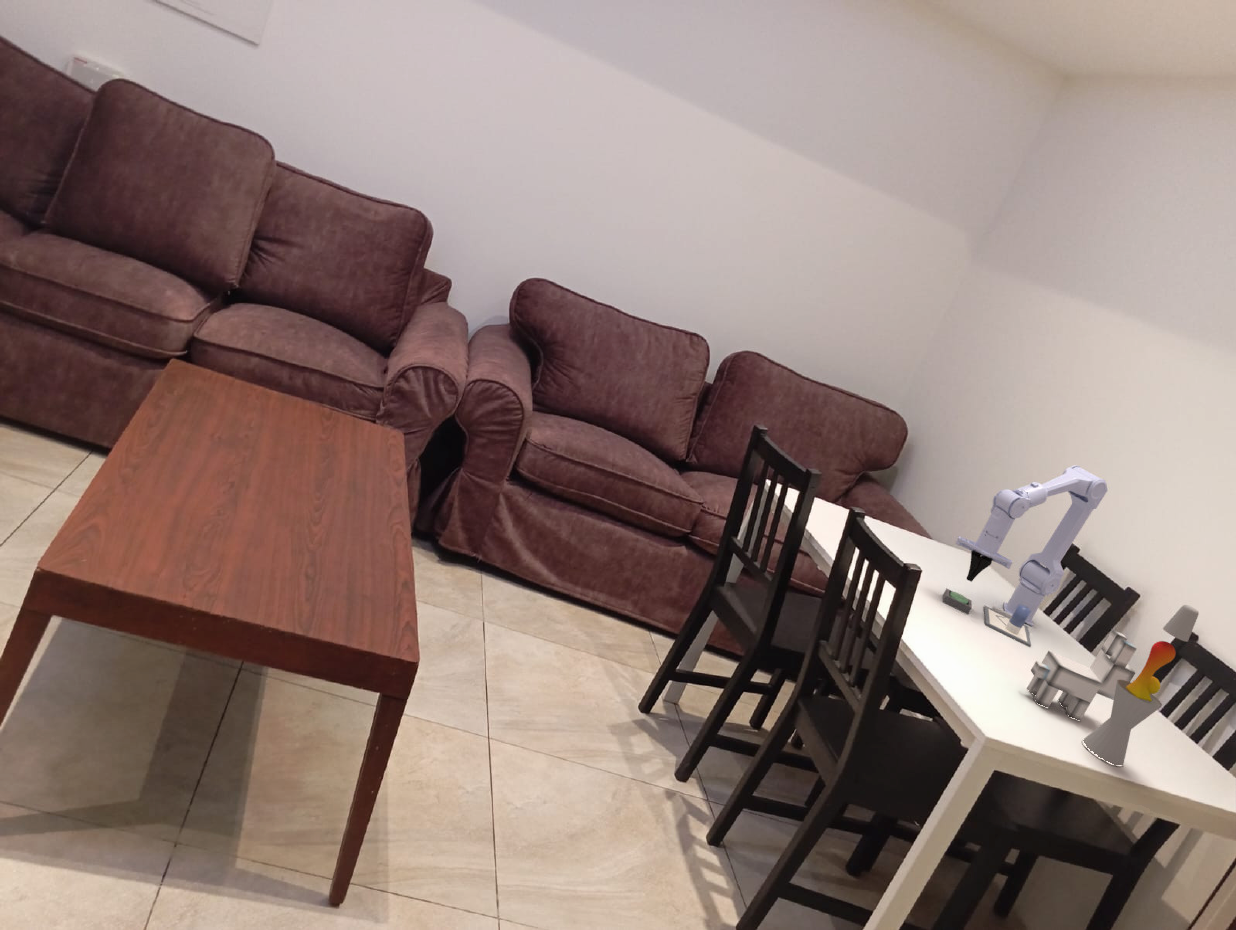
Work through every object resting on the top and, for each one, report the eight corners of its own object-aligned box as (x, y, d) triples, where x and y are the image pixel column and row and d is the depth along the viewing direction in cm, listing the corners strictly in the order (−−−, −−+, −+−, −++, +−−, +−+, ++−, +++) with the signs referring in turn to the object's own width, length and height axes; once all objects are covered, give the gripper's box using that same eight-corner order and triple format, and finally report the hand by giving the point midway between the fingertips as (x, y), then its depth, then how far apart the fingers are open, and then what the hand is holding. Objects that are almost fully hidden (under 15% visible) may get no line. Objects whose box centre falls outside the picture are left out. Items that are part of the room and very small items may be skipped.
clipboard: (983, 607, 277) (986, 602, 277) (1026, 627, 275) (1029, 622, 274) (984, 625, 262) (987, 619, 262) (1030, 647, 260) (1033, 641, 259)
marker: (1005, 625, 266) (1018, 602, 264) (1017, 631, 265) (1030, 608, 263) (1005, 629, 263) (1019, 606, 261) (1018, 635, 262) (1031, 612, 260)
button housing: (943, 594, 273) (946, 588, 273) (968, 606, 272) (971, 600, 271) (942, 602, 267) (946, 595, 266) (968, 614, 265) (971, 607, 264)
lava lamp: (1100, 763, 204) (1192, 614, 195) (1071, 735, 212) (1158, 591, 203) (1133, 770, 208) (1225, 624, 198) (1103, 743, 216) (1190, 601, 206)
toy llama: (1016, 684, 229) (1060, 608, 224) (1088, 713, 230) (1133, 638, 224) (1026, 700, 222) (1072, 621, 217) (1100, 730, 222) (1147, 653, 217)
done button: (947, 596, 272) (951, 589, 271) (964, 604, 271) (968, 598, 270) (947, 601, 267) (951, 594, 267) (965, 609, 266) (968, 603, 266)
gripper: (966, 525, 261) (942, 571, 265) (1021, 550, 258) (996, 596, 262) (966, 519, 268) (943, 564, 272) (1020, 544, 265) (995, 589, 268)
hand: (969, 579), depth 267 cm, fingers closed
